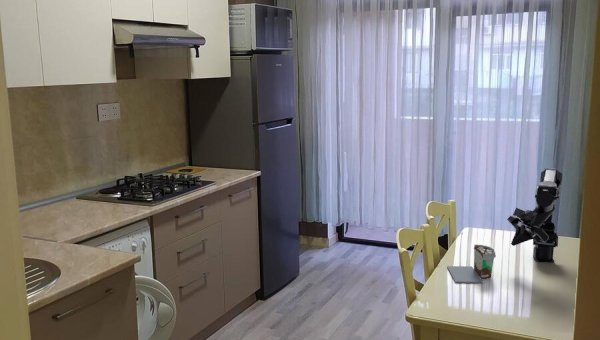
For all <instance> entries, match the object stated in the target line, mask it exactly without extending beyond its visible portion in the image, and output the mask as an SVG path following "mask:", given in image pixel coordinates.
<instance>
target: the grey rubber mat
mask: <svg viewBox="0 0 600 340" xmlns="http://www.w3.org/2000/svg"><path fill="white" fill-rule="evenodd" d="M446 269H447V270H448V272H449V274H450V276H451V277H453V278H452V279H453V281H454V283H455V284H483V280H482V279H480V277H479V276H478V275H477V273H476V272H475V270H474V266H472V265H471V266H469V265H467V266H464V265H461V266H460V265H459V266H458V265H456V266H455V265H454V266H453V265H447V266H446Z"/></svg>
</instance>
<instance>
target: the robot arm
mask: <svg viewBox="0 0 600 340" xmlns="http://www.w3.org/2000/svg"><path fill="white" fill-rule="evenodd" d="M563 180H564V178H563V172H560V171H559V169H558V168H557V167H556V168H555V167H554V168H553V167H545V168H544V170H543V171H541V172H540V178H539V183H538V186H536V189H535V192H534V193H535V194H534V199H535V203H536V206H535V207H534V209H533V210H531V209H526V210H523V209H520V208H518V207H515V210H514V211H513V213H512V215H509V217H508V218H507V221H508V222H509V224H511V226H512V227H513V228H514V229H515V233H514V235H513V237H512V240H511V242H510V244H511V245H512V246H514V247H515V246H517V245H521V244H522V243H525V242H527V241H531V240H532V245H534V247H533V254H532V257H533V258H534V259H535V260H536V261H537V262H538V263H539V262H543V263H546V262H547V263H548V262H549V263H550V262H551V263H554V262H555V259H554V251H555V250H554V249H555V248H557V247H558V246H559V236H558V232H556V226H555V223H554V222H553V216H554V212H555V211H556V207H555V206H556V205H555V201H558V199H560V194H561V193H560V192H561V191H560V190H561V186H563Z"/></svg>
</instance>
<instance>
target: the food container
mask: <svg viewBox="0 0 600 340" xmlns="http://www.w3.org/2000/svg"><path fill="white" fill-rule="evenodd" d="M473 251H474V252H473V269H474V270H475V272H476V273H477V275H478V276H479V278H481V280H487V278H488V279H491V277H492V272H493V266H494V265H493V264H494V260H495V258H496V251H495V249H494V248H492V247H491V246H488V245H484V244H474V246H473Z"/></svg>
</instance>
